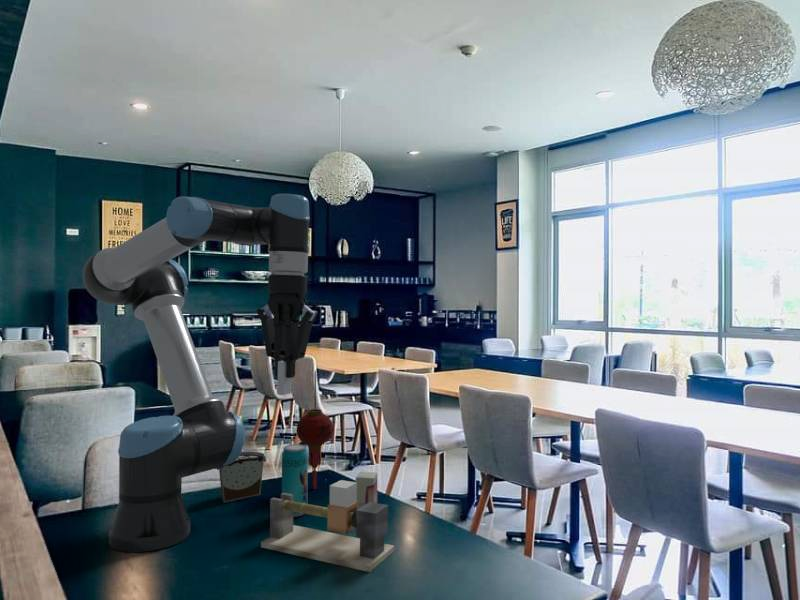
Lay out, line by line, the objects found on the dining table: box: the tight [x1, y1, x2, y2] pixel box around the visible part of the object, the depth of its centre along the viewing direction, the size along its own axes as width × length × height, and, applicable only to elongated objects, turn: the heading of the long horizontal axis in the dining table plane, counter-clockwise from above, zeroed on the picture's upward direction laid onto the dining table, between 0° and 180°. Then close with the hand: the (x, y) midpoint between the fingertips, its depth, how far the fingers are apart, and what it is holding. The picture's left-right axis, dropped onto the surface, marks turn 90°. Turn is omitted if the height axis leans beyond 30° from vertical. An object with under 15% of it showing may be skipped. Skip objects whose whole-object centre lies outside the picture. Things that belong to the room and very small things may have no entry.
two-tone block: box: [326, 479, 359, 535], centre depth 113 cm, size 4×5×8 cm
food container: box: [216, 451, 267, 504], centre depth 146 cm, size 12×6×10 cm, turn 130°
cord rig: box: [260, 492, 396, 573], centre depth 114 cm, size 24×10×10 cm, turn 64°
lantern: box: [296, 370, 334, 490], centre depth 151 cm, size 10×10×30 cm
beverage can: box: [281, 443, 309, 518], centre depth 133 cm, size 6×6×15 cm
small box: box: [355, 471, 378, 508], centre depth 137 cm, size 5×4×8 cm
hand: (284, 393), depth 117 cm, fingers closed
